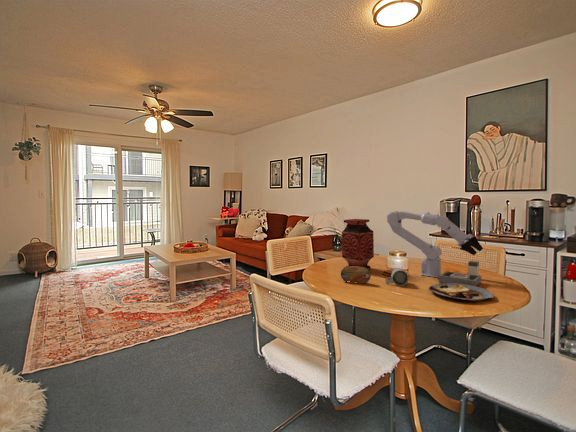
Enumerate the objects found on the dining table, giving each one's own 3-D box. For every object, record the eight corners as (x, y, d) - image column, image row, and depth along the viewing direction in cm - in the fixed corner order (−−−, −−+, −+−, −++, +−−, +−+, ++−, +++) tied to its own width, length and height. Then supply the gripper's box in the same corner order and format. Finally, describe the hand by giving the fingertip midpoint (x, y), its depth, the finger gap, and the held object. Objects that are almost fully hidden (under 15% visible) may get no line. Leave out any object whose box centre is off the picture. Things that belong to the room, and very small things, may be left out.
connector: (468, 278, 166) (468, 261, 165) (470, 277, 169) (470, 260, 168) (476, 280, 163) (477, 262, 163) (478, 278, 166) (479, 261, 165)
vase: (356, 265, 202) (355, 218, 201) (374, 269, 192) (374, 219, 190) (341, 268, 194) (341, 219, 192) (359, 272, 183) (359, 220, 181)
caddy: (438, 282, 160) (438, 275, 159) (446, 277, 168) (446, 270, 168) (474, 288, 149) (474, 280, 149) (481, 283, 157) (481, 275, 157)
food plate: (457, 306, 126) (457, 297, 125) (417, 290, 148) (417, 283, 148) (505, 301, 133) (506, 292, 132) (461, 286, 155) (461, 279, 155)
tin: (340, 281, 165) (340, 265, 164) (342, 280, 167) (342, 264, 167) (370, 284, 158) (370, 268, 158) (371, 283, 161) (371, 266, 161)
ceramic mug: (405, 281, 163) (405, 266, 162) (408, 286, 155) (408, 270, 154) (384, 281, 165) (384, 266, 164) (386, 285, 157) (385, 270, 156)
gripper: (466, 223, 160) (490, 242, 155) (456, 233, 174) (477, 251, 168) (457, 232, 159) (480, 251, 154) (447, 241, 173) (468, 259, 167)
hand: (478, 252), depth 161 cm, fingers open, 7 cm apart
